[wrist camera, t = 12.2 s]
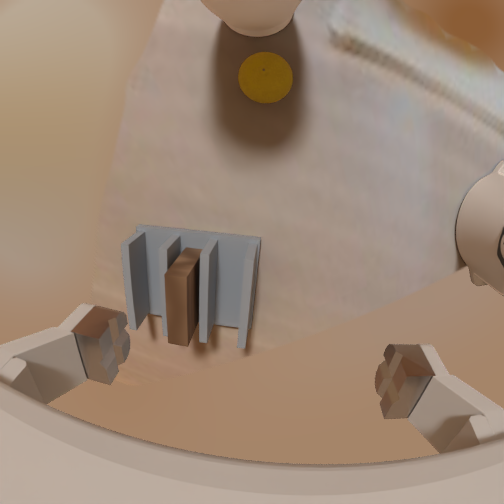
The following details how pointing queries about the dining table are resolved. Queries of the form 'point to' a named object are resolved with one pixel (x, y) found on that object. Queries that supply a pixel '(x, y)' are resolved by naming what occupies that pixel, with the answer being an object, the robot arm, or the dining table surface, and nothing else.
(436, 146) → the dining table surface
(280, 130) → the dining table surface
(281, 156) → the dining table surface
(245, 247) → the rack
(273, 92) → the lemon
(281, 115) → the dining table surface
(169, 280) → the board
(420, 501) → the robot arm
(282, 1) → the jar
